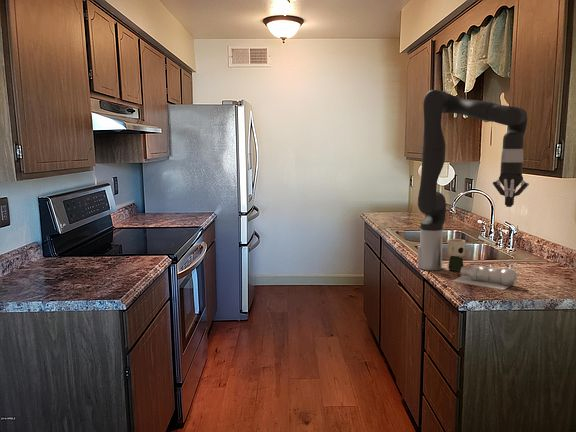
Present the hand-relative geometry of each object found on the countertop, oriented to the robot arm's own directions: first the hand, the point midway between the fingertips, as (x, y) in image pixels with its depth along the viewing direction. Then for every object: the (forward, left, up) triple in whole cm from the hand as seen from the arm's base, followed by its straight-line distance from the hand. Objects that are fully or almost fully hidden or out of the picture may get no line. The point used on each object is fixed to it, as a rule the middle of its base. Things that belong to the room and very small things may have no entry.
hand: (509, 206), depth 182 cm
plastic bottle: (+6, -7, -26) cm, 27 cm away
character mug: (-21, +4, -29) cm, 37 cm away
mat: (-6, -9, -29) cm, 31 cm away
